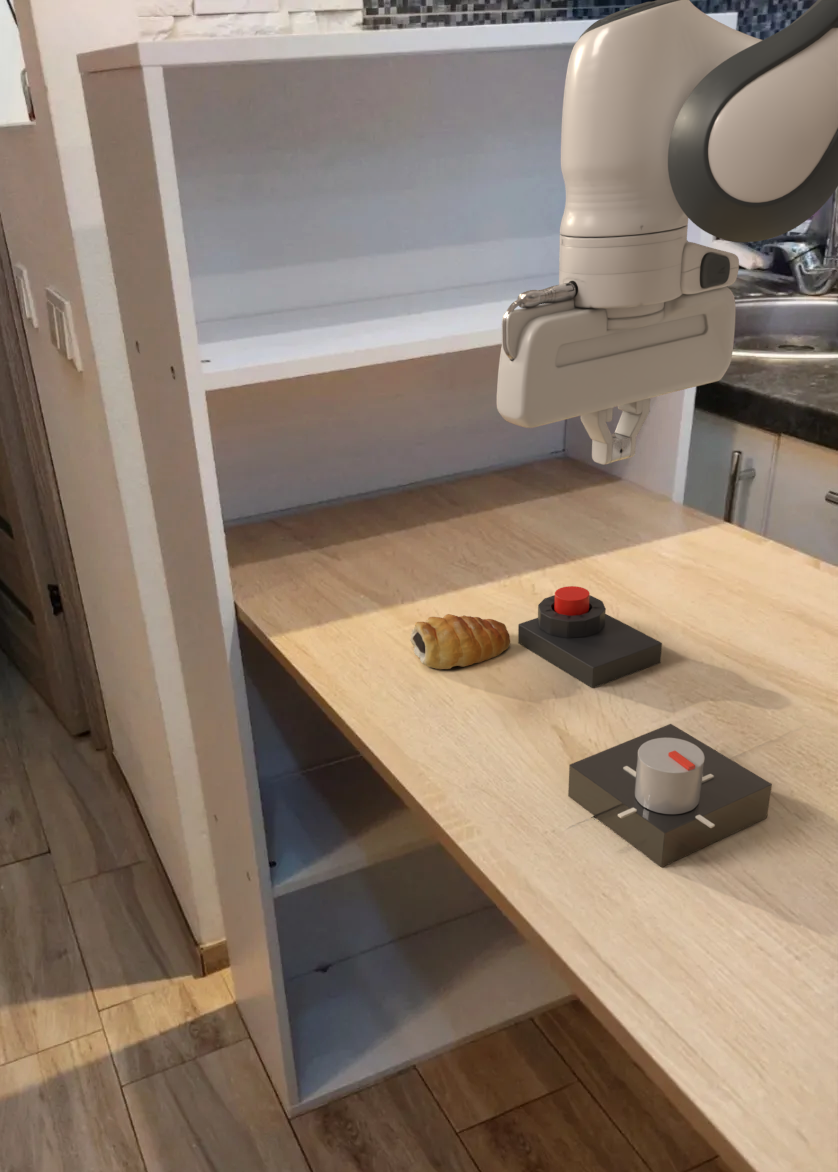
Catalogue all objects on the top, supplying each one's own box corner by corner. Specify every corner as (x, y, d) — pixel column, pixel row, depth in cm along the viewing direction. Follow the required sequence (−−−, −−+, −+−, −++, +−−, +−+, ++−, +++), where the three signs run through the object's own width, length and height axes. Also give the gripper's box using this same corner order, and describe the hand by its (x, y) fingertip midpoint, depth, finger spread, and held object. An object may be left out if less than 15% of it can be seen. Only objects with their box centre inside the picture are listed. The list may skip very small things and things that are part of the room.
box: (582, 621, 103) (583, 585, 101) (660, 663, 95) (664, 625, 93) (517, 643, 100) (517, 606, 98) (592, 689, 92) (594, 650, 90)
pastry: (494, 629, 103) (494, 595, 101) (521, 659, 98) (522, 623, 96) (405, 647, 101) (404, 612, 100) (428, 678, 96) (426, 642, 94)
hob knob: (621, 789, 73) (624, 744, 72) (672, 771, 75) (676, 727, 73) (661, 821, 70) (665, 775, 68) (713, 803, 71) (719, 757, 69)
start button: (574, 599, 99) (574, 583, 98) (595, 611, 97) (596, 594, 96) (547, 608, 98) (547, 591, 97) (568, 620, 96) (569, 603, 95)
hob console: (667, 755, 82) (670, 721, 80) (781, 827, 73) (787, 791, 72) (554, 802, 78) (555, 768, 76) (660, 885, 69) (664, 848, 67)
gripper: (530, 300, 68) (530, 499, 75) (756, 255, 76) (738, 441, 83) (476, 291, 73) (481, 479, 80) (694, 250, 81) (681, 425, 87)
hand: (613, 459), depth 81 cm, fingers closed
